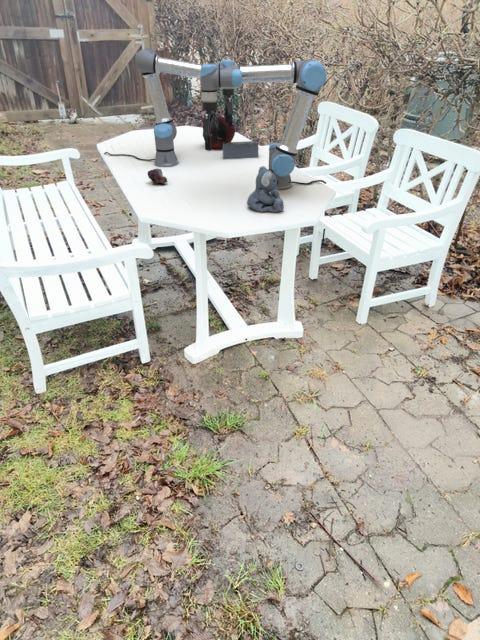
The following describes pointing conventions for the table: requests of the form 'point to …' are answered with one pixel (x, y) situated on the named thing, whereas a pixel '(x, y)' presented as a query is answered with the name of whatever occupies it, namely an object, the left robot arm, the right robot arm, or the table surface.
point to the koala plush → (265, 193)
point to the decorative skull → (222, 133)
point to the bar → (240, 150)
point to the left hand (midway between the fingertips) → (228, 124)
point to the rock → (157, 176)
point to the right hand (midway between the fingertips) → (211, 146)
